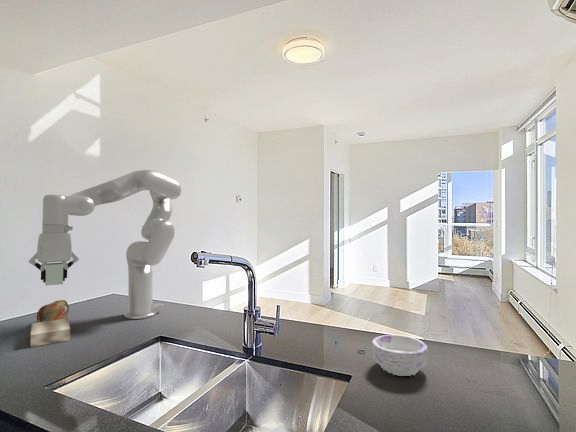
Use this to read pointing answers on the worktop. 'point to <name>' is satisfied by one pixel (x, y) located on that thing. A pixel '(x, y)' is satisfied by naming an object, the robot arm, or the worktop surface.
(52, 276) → the block
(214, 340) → the worktop surface
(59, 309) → the tin
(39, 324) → the riser block
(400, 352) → the white round bowl
